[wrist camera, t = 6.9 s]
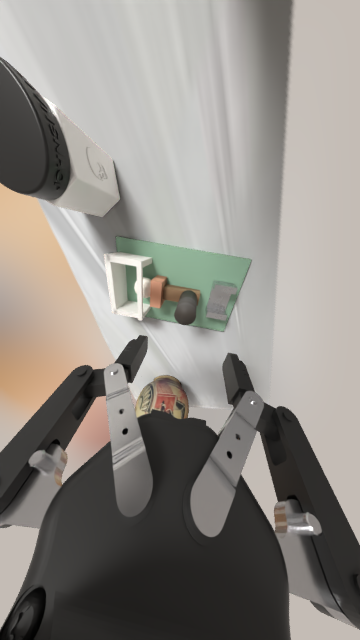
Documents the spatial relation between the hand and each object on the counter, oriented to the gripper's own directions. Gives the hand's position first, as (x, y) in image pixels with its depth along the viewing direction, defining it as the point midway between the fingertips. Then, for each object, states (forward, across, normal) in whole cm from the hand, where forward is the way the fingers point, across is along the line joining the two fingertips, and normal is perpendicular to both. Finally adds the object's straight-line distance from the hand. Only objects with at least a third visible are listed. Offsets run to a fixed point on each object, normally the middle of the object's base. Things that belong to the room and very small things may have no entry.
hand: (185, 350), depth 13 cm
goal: (+17, +12, 0) cm, 21 cm away
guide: (+17, -6, 0) cm, 18 cm away
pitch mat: (+18, +4, 0) cm, 18 cm away
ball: (+15, +10, 0) cm, 18 cm away
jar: (+18, +19, -15) cm, 30 cm away
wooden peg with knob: (+17, +3, 0) cm, 17 cm away
